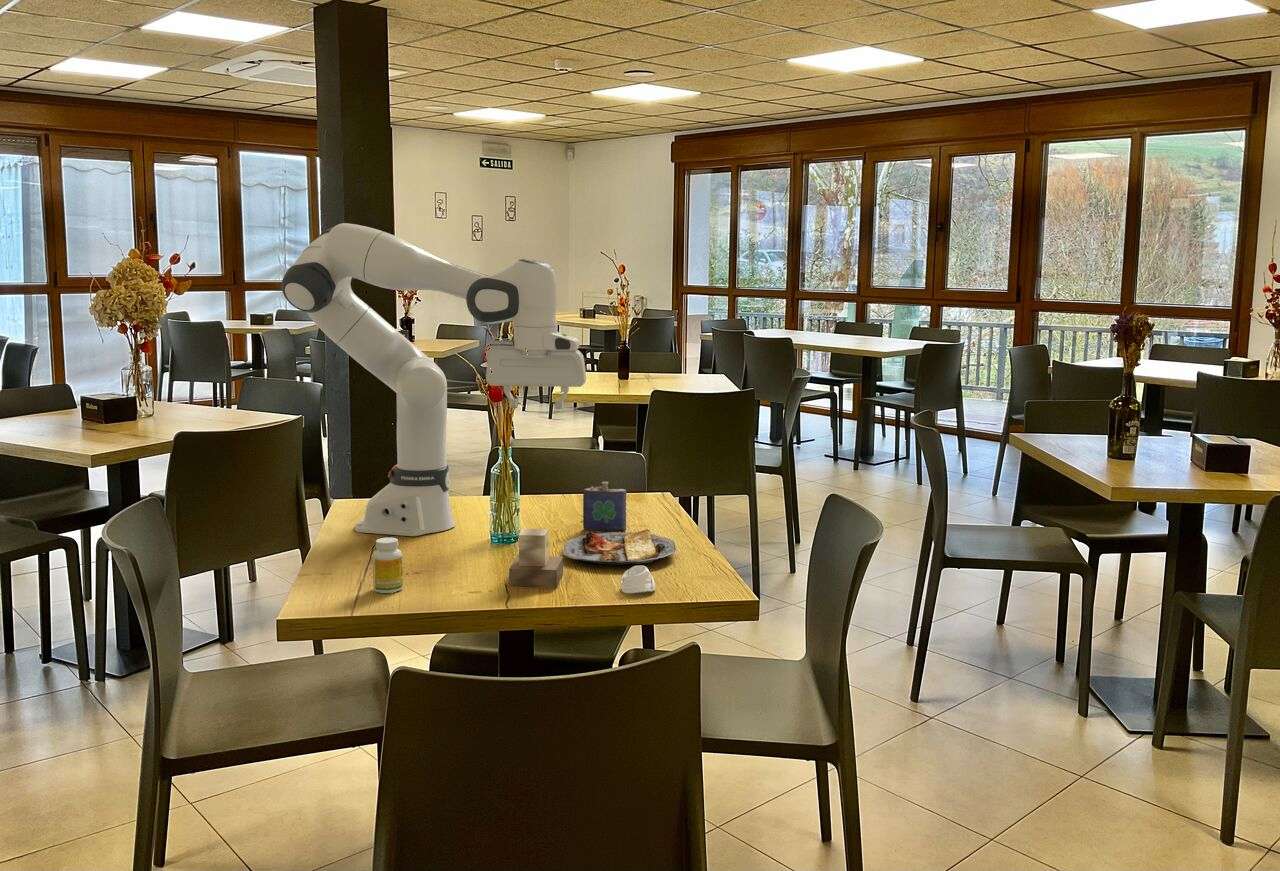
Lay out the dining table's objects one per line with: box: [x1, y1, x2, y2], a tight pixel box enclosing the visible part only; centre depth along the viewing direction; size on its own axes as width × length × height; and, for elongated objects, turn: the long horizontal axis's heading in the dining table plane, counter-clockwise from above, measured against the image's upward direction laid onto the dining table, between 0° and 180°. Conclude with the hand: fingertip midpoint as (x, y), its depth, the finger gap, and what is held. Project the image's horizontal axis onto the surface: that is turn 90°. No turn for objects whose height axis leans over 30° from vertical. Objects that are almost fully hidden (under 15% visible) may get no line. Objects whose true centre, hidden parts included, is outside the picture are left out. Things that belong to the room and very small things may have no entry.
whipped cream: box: [620, 565, 656, 594], centre depth 199 cm, size 8×7×5 cm
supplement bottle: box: [372, 537, 404, 594], centre depth 198 cm, size 5×5×10 cm
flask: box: [582, 481, 627, 533], centre depth 243 cm, size 10×3×12 cm, turn 88°
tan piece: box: [518, 528, 550, 566], centre depth 204 cm, size 5×5×6 cm
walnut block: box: [508, 555, 564, 589], centre depth 205 cm, size 9×9×4 cm
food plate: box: [562, 528, 676, 566], centre depth 223 cm, size 25×23×4 cm
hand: (536, 408), depth 218 cm, fingers open, 8 cm apart
